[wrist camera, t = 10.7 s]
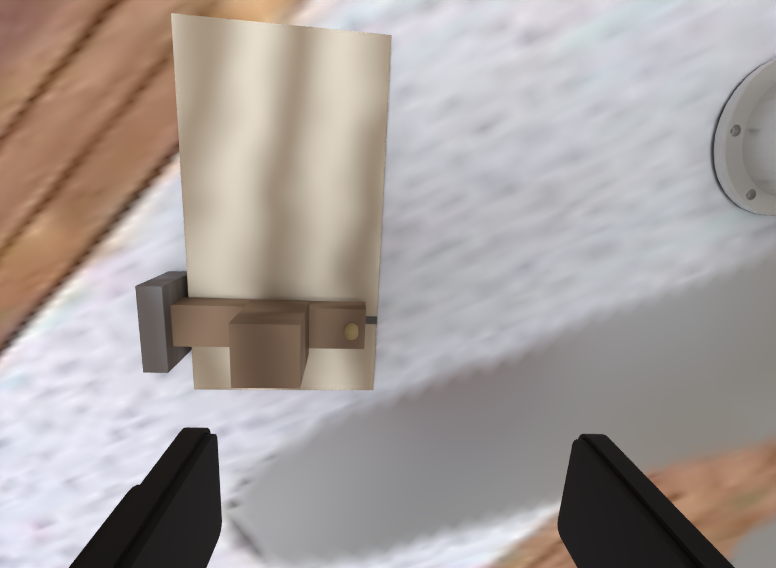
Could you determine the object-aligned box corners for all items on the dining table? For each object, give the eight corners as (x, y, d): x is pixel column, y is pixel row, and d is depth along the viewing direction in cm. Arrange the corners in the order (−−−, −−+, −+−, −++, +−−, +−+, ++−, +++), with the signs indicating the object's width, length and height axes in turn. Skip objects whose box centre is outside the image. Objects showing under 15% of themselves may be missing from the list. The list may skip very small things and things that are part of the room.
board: (388, 45, 28) (391, 34, 26) (372, 378, 34) (373, 390, 32) (184, 26, 27) (170, 12, 24) (203, 377, 32) (193, 389, 30)
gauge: (365, 278, 31) (370, 310, 23) (361, 348, 32) (366, 403, 24) (169, 271, 30) (95, 303, 21) (174, 345, 31) (107, 403, 22)
